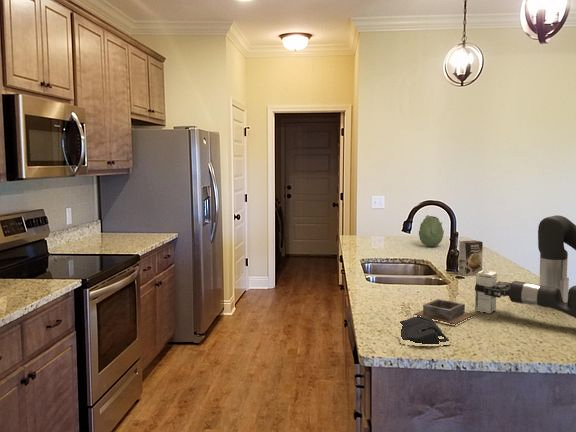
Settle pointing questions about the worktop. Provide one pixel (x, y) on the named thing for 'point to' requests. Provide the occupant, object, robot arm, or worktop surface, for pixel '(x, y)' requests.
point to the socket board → (445, 311)
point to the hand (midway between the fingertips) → (479, 285)
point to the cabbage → (431, 231)
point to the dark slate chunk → (421, 331)
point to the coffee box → (470, 257)
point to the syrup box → (483, 301)
